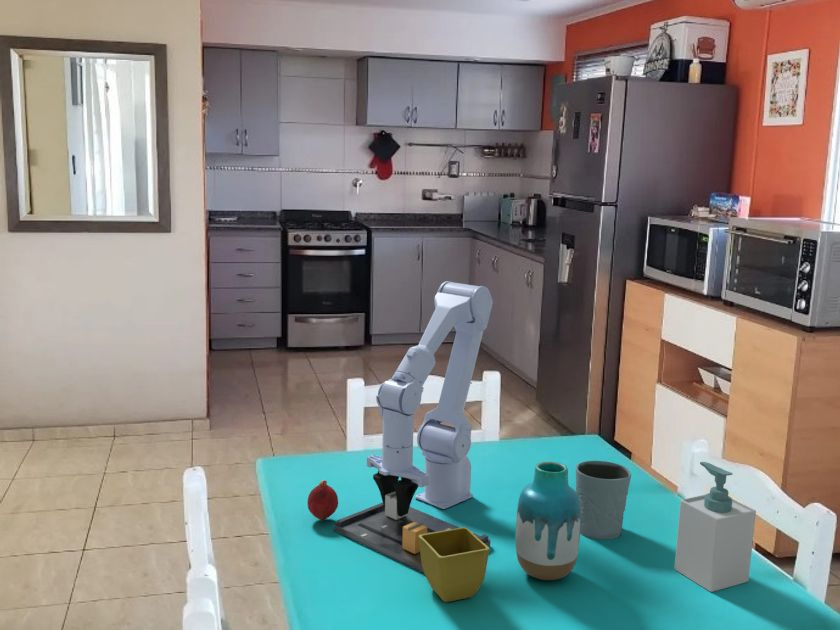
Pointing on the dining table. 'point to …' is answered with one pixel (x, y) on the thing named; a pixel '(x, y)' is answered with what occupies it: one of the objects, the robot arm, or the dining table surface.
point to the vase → (548, 524)
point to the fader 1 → (391, 506)
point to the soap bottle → (715, 537)
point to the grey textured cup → (602, 498)
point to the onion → (322, 501)
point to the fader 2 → (413, 536)
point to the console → (391, 532)
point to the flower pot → (453, 562)
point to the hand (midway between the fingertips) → (396, 511)
